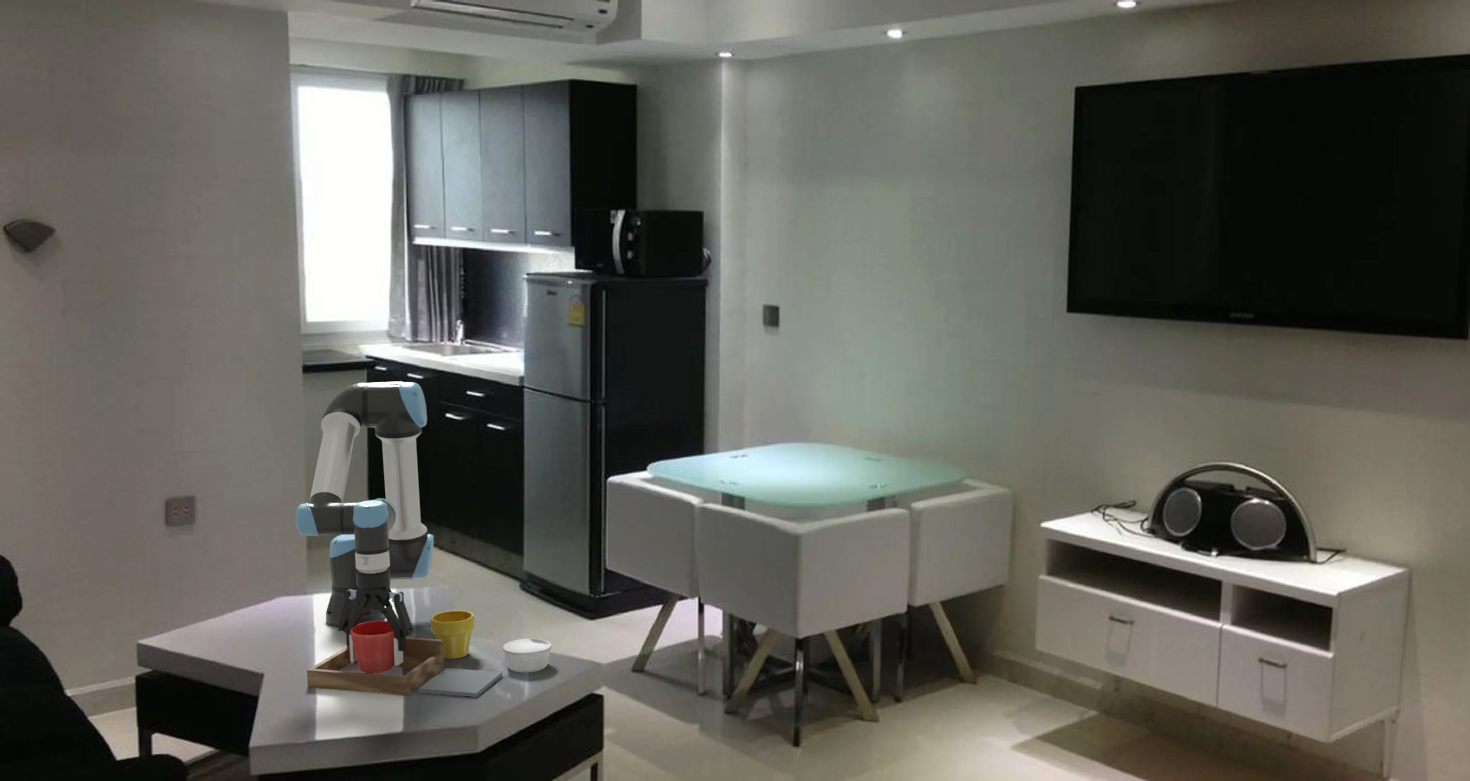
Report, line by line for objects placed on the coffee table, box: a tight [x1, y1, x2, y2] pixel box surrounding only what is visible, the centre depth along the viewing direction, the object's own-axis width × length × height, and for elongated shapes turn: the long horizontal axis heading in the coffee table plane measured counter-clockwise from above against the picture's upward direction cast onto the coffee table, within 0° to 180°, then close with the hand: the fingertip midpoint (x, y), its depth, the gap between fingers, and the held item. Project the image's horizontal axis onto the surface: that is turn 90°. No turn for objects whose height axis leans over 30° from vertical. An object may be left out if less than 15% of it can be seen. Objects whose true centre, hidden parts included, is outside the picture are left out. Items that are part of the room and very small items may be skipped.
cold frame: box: [306, 636, 445, 696], centre depth 291 cm, size 18×24×7 cm
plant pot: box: [430, 609, 475, 660], centre depth 307 cm, size 10×10×10 cm
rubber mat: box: [417, 667, 503, 698], centre depth 287 cm, size 14×14×1 cm
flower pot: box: [350, 620, 397, 674], centre depth 291 cm, size 11×11×10 cm
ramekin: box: [502, 637, 552, 673], centre depth 299 cm, size 11×11×5 cm
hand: (376, 661), depth 292 cm, fingers closed on flower pot, 10 cm apart
